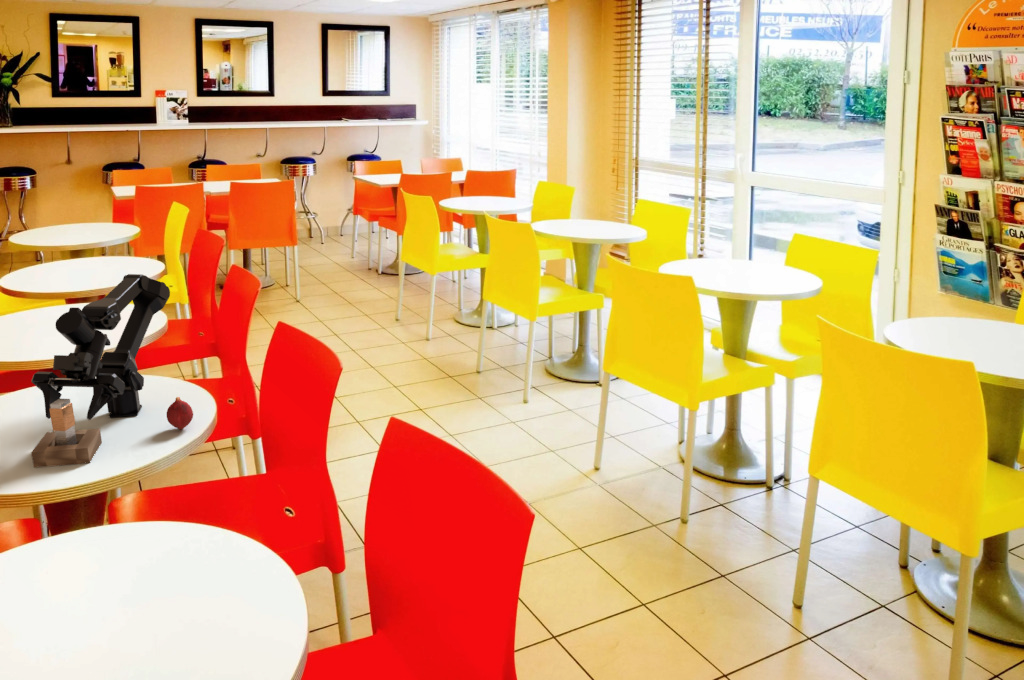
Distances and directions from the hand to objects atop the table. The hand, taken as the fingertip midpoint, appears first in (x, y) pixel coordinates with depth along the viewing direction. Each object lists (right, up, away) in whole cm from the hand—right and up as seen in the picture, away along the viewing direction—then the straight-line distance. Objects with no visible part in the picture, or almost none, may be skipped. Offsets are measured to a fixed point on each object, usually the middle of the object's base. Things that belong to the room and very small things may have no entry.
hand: (68, 418), depth 186 cm
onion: (+19, -4, +15) cm, 24 cm away
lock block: (0, -8, +1) cm, 8 cm away
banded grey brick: (0, -8, +1) cm, 8 cm away
